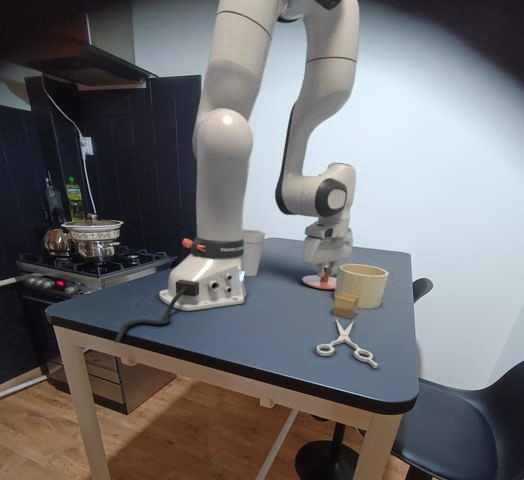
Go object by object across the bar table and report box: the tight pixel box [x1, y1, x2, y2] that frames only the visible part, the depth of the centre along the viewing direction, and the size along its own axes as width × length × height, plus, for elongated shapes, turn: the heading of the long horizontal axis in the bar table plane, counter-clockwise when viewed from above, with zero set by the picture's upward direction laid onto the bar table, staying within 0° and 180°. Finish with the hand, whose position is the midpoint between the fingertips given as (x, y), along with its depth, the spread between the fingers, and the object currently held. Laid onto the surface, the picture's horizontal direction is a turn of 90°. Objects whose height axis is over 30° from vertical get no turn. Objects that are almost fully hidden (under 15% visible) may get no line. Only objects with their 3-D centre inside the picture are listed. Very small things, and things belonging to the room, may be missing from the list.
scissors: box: [315, 318, 379, 369], centre depth 64 cm, size 11×1×20 cm
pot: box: [333, 263, 390, 310], centre depth 85 cm, size 13×13×8 cm
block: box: [332, 293, 359, 320], centre depth 76 cm, size 4×4×4 cm
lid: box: [301, 265, 337, 290], centre depth 98 cm, size 14×14×6 cm
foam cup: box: [242, 229, 266, 277], centre depth 101 cm, size 10×9×13 cm
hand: (324, 276), depth 98 cm, fingers closed on lid, 2 cm apart
